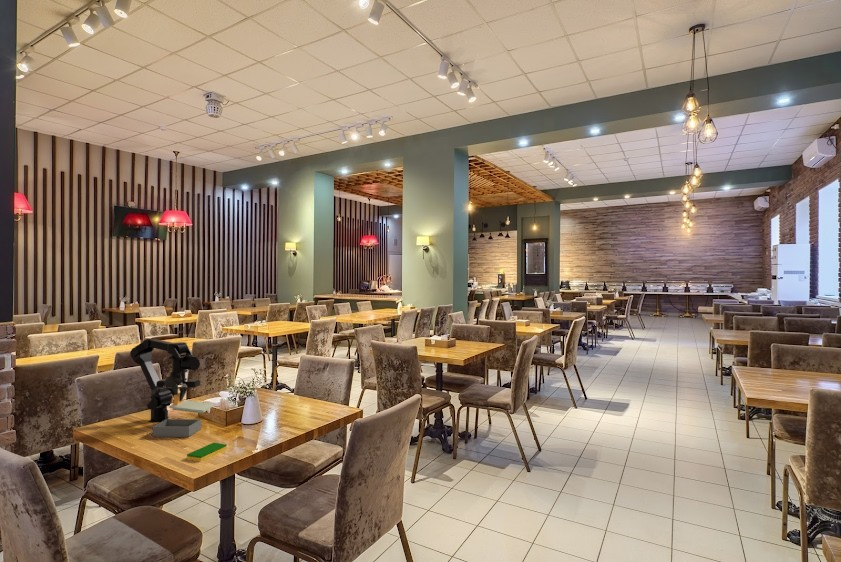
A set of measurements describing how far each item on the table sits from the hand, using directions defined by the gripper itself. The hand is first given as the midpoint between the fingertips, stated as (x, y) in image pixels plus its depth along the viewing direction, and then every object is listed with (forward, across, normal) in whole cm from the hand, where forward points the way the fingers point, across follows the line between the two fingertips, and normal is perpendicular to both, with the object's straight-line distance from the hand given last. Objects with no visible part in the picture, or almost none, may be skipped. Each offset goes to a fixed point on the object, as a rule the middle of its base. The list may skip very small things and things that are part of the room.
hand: (178, 401), depth 217 cm
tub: (+10, +7, -14) cm, 19 cm away
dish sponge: (+11, +32, -38) cm, 51 cm away
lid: (+4, +7, 0) cm, 8 cm away
